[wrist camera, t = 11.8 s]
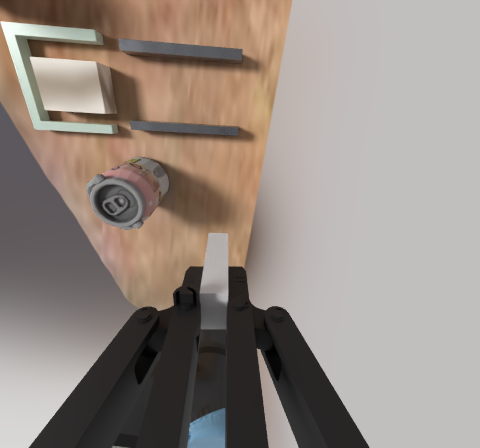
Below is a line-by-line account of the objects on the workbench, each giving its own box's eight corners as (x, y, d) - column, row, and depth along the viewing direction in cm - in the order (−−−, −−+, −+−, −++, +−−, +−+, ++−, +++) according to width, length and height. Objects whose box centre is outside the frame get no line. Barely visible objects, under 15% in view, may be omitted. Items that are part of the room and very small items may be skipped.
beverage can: (139, 212, 42) (109, 246, 32) (106, 173, 39) (60, 197, 28) (179, 188, 41) (162, 216, 30) (149, 145, 37) (118, 159, 26)
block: (117, 113, 35) (105, 113, 32) (63, 110, 35) (44, 110, 31) (110, 67, 32) (95, 61, 29) (51, 62, 32) (29, 56, 28)
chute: (237, 134, 37) (237, 135, 35) (137, 128, 36) (131, 129, 34) (241, 53, 32) (242, 49, 30) (125, 43, 31) (118, 38, 29)
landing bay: (118, 132, 36) (112, 133, 34) (44, 128, 35) (34, 129, 34) (102, 34, 31) (94, 29, 29) (13, 26, 30) (0, 21, 28)
